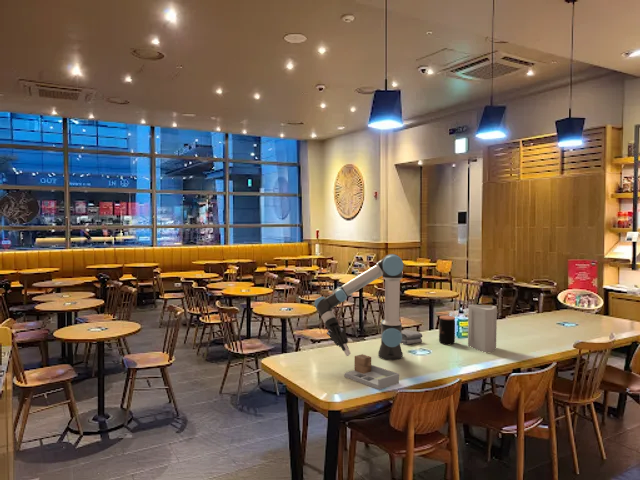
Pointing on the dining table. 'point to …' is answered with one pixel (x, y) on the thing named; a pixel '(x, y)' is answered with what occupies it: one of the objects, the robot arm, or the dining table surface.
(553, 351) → the dining table surface
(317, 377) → the dining table surface
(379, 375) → the deck
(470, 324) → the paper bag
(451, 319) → the coffee jar
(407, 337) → the towel
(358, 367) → the block
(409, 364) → the dining table surface
